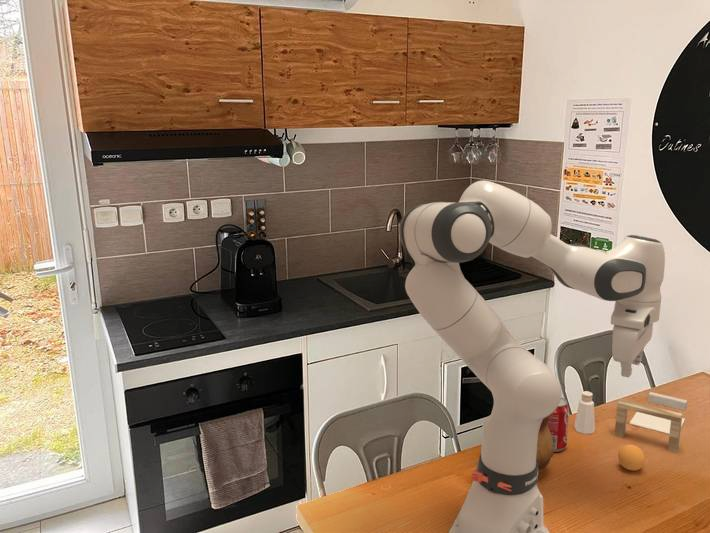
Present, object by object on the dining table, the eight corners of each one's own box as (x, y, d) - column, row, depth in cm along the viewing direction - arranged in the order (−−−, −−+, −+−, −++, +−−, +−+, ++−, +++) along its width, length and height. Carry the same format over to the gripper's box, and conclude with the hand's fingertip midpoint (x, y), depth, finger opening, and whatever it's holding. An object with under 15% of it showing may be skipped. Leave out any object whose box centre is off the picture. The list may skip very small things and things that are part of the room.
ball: (640, 478, 139) (643, 455, 138) (614, 469, 142) (616, 447, 141) (646, 467, 143) (648, 444, 142) (620, 459, 147) (622, 437, 146)
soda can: (568, 454, 150) (571, 407, 147) (539, 451, 151) (541, 405, 148) (564, 440, 156) (567, 395, 154) (536, 438, 158) (539, 393, 155)
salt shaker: (594, 436, 158) (597, 398, 156) (573, 432, 161) (575, 395, 158) (595, 427, 163) (598, 390, 161) (574, 423, 166) (577, 387, 163)
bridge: (676, 453, 150) (680, 418, 147) (614, 435, 159) (617, 402, 156) (678, 448, 152) (682, 413, 150) (617, 431, 161) (620, 398, 159)
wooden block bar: (685, 410, 172) (685, 402, 172) (648, 401, 178) (648, 394, 178) (686, 408, 174) (687, 400, 173) (649, 399, 180) (650, 391, 179)
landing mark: (676, 436, 158) (677, 435, 158) (629, 423, 165) (629, 422, 165) (685, 419, 167) (685, 418, 167) (639, 408, 174) (639, 407, 174)
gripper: (633, 296, 136) (627, 352, 139) (608, 318, 120) (603, 381, 124) (663, 301, 132) (656, 358, 135) (641, 324, 117) (635, 388, 120)
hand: (631, 369), depth 129 cm, fingers open, 7 cm apart
